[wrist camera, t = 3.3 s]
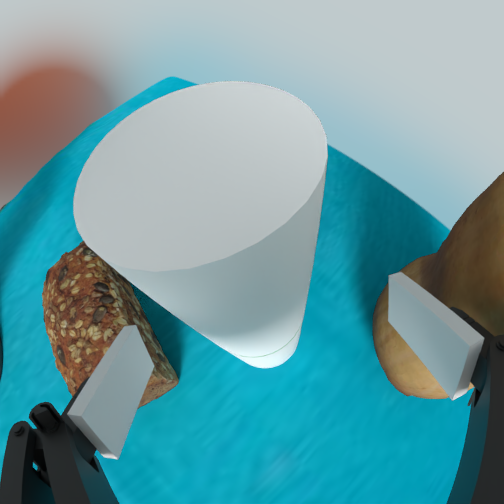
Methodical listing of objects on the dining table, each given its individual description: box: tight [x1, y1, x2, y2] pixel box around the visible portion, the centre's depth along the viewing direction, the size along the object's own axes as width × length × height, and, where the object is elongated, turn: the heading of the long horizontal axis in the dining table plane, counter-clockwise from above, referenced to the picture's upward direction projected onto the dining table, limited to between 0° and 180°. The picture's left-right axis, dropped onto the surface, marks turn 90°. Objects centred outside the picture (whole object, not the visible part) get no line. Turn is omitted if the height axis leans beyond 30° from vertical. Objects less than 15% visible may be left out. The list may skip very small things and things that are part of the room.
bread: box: [42, 241, 179, 409], centre depth 26 cm, size 19×11×10 cm, turn 35°
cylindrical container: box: [74, 81, 328, 368], centre depth 18 cm, size 7×7×25 cm
